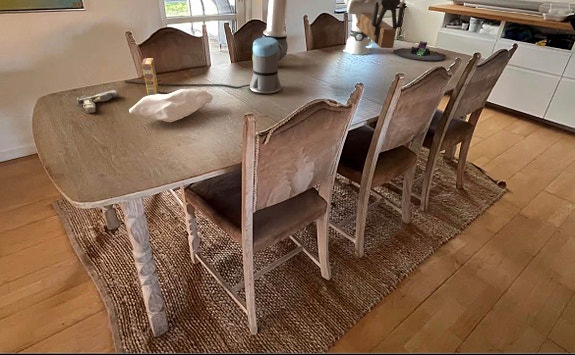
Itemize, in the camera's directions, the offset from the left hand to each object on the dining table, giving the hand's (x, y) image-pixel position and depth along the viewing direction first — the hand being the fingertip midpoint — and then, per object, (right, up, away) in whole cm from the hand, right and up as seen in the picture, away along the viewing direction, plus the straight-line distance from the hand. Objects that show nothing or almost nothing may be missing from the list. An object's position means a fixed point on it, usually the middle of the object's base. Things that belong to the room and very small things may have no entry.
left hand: (383, 43), depth 166 cm
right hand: (-2, +22, +31) cm, 38 cm away
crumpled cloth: (-91, -35, -17) cm, 99 cm away
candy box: (-105, -24, +1) cm, 108 cm away
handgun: (-124, -30, -11) cm, 128 cm away
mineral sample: (+46, +22, +83) cm, 97 cm away
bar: (-1, +10, +16) cm, 19 cm away
